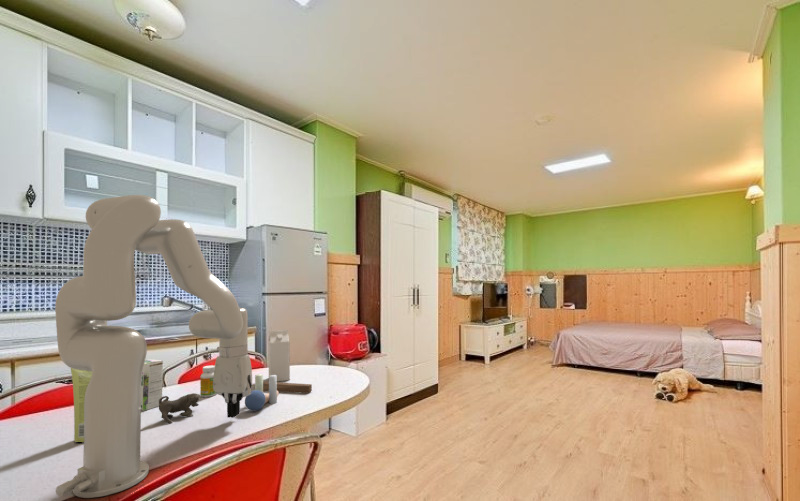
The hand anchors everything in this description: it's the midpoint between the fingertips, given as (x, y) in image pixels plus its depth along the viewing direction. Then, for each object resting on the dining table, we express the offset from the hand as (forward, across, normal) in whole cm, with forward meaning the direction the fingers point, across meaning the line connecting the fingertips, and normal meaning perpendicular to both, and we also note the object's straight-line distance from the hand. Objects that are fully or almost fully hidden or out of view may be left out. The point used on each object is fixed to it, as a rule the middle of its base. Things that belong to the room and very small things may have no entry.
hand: (233, 415), depth 112 cm
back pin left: (+2, -2, +16) cm, 17 cm away
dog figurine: (+2, -18, 0) cm, 18 cm away
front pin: (0, 0, +13) cm, 13 cm away
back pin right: (+2, +2, +16) cm, 17 cm away
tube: (+2, -30, -18) cm, 35 cm away
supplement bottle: (+2, -24, +19) cm, 31 cm away
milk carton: (+2, -10, +41) cm, 42 cm away
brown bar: (+2, 0, +28) cm, 28 cm away
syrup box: (+2, -35, +5) cm, 35 cm away
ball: (-2, +1, +9) cm, 9 cm away
